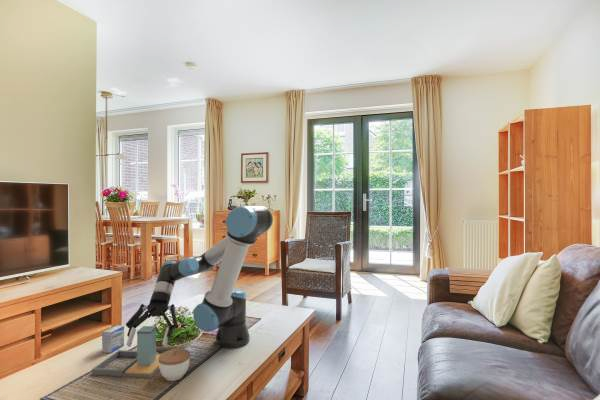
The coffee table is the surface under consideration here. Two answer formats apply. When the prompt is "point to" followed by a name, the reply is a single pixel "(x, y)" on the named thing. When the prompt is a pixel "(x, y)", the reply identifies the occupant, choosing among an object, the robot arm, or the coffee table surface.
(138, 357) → the block
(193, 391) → the coffee table surface
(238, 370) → the coffee table surface
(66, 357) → the coffee table surface
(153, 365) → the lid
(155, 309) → the robot arm
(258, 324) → the coffee table surface
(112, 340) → the medicine box
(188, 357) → the lidded jar
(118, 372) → the shallow grey tray
